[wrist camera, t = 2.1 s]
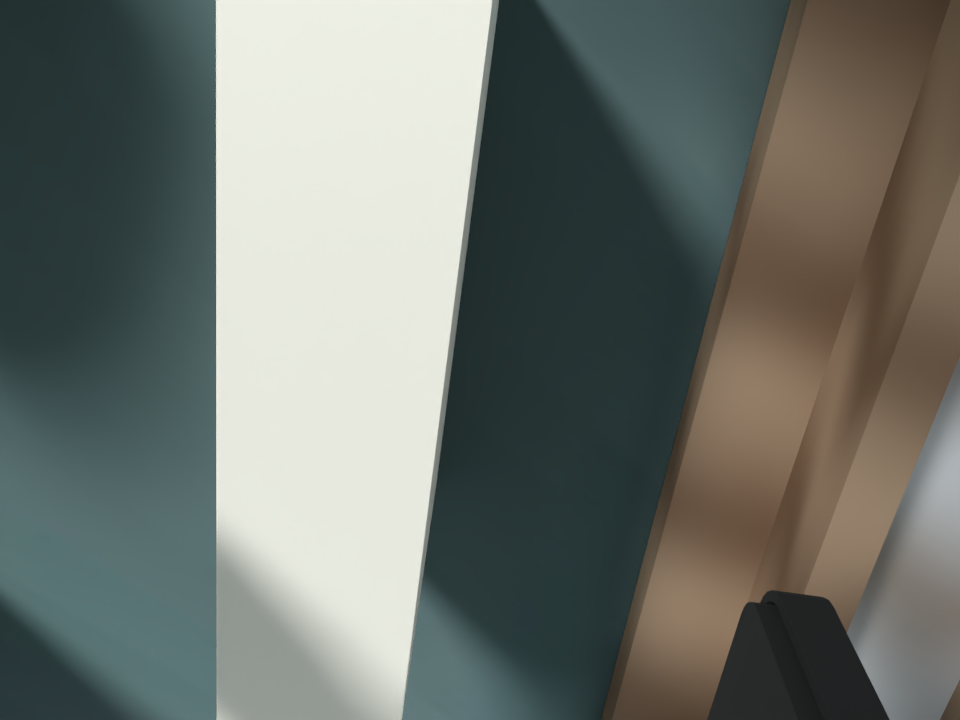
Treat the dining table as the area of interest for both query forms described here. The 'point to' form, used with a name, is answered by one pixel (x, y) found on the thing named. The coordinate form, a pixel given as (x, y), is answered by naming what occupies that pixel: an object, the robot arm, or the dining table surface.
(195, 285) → the dining table surface
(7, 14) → the dining table surface
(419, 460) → the white rectangular block
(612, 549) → the dining table surface
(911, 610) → the track frame
